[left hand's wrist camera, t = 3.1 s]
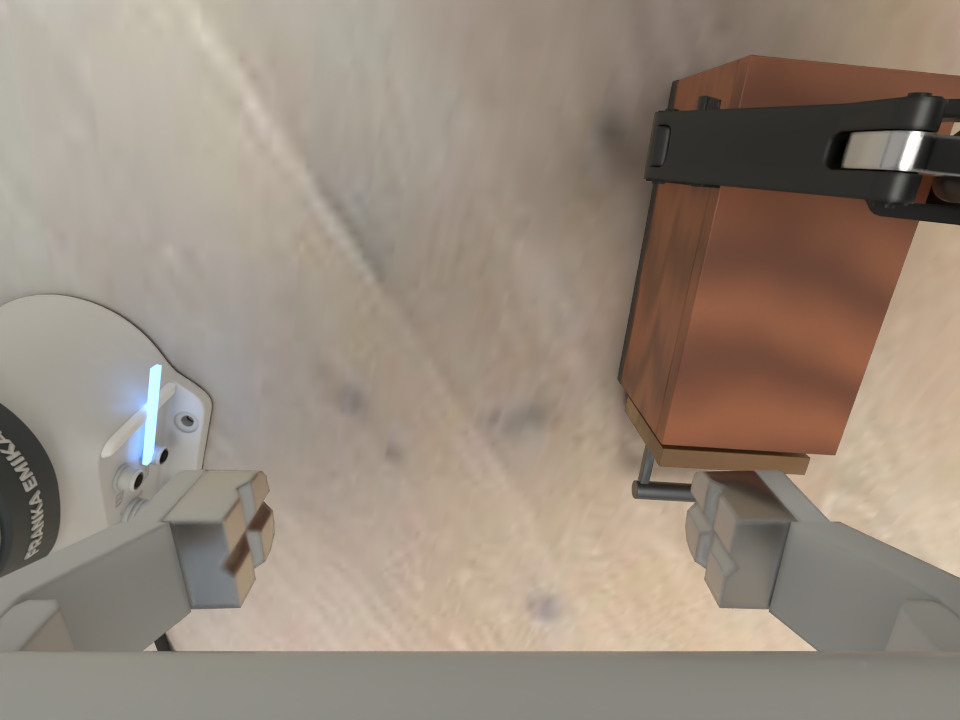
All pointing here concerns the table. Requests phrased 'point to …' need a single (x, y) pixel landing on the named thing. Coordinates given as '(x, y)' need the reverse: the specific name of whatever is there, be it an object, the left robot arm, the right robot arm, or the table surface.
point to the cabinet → (765, 281)
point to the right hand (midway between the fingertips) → (789, 166)
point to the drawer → (699, 461)
